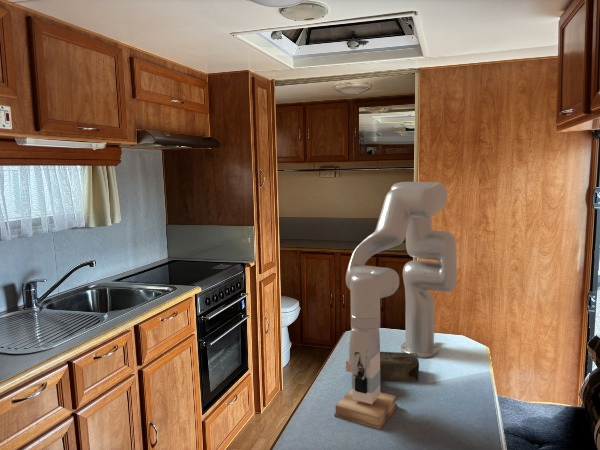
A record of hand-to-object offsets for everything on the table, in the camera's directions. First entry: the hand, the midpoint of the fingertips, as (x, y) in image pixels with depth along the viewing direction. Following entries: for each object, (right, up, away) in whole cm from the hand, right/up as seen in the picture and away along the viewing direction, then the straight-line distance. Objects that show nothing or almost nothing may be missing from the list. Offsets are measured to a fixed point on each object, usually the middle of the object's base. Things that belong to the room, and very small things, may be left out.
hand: (366, 386), depth 124 cm
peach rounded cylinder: (+1, -5, +16) cm, 16 cm away
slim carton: (0, -3, 0) cm, 3 cm away
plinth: (0, -7, +1) cm, 7 cm away
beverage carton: (+10, -4, +22) cm, 24 cm away
